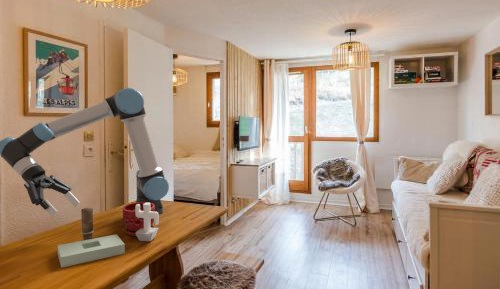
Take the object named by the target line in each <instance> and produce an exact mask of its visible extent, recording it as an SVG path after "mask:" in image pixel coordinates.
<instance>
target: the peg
mask: <svg viewBox="0 0 500 289" xmlns="http://www.w3.org/2000/svg"><path fill="white" fill-rule="evenodd" d="M80 213H81V214H80V215H81V232H80V234H81V236H82V241H83V240H89V239H93V234H94V210H93V208H92V207H86V208H85V207H84V208H82V209H81V212H80Z"/></svg>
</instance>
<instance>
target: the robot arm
mask: <svg viewBox="0 0 500 289" xmlns="http://www.w3.org/2000/svg"><path fill="white" fill-rule="evenodd" d="M144 105H145V99H144V96H143V94H142V93H141V92H140V91H139V90H137V89H135V88H132V87H125V88H122V89H120V90H118V91H117V92H116V93H114V94H113V95H111V96H108V97H107V98H104V99H103V101H102V102H100V103H96V104H93V105H91V106H89V107H86V108H83V109H82V110H79V111H78V110H77V111H76V112H73V113H70V114H67V115H65V116H62V117H60V118H57V119H54V120H52V121H49V122H47V123H44V122H39V123H37V124H35V125H33V126H32V127H31V128H30V129H27V131H25V132H24V133H23V134H21V135H20V136H18V137H17V138H14V137H13V136H9V137H5V138H3V139H1V140H0V157H1V158H2V159H4V161H5V162H6V163H7V164H8V165H9V166H10V167H11V168H12V169H13V170H14V171H15V172H16V173H17V174H18V175H19V176H20V177H21V179H22V180H23V181H24V182H25V183H23V187H24V188H25V189H26V191H27V194H28V197H29V200H30V201H31V204H33V205H35V206H40V207H41V208H42V209H44V211H46V212H47V213H48V214H49V215H50V216H51V217H54V216H55V215H57V213H58V212H59V210H58V209H56V207H54V206H53V204H52V203H51V202H50V201H49V200H48V198H46V199H45V198H44V197H45V194H44V190H46V189H49V190H50V189H51V190H54V191H55V192H58V193H61V194H63V195H64V197H65V198H66V199H67V201H69V203H70V204H71V205H72V206H73V207H74V208H76V207H77V206H79V204H80V203H81V201H80V200H79V199H78V198H77V197H76V196H75V195H74V194H73V193H72V192H71V191H72V189H73V188H72V187H71V186H70V185H68V184H66V183H65V182H63V181H61V180H60V179H59V178H57V177H56V176H55V175H54V174H50V176H47V175H46V170H45V169H44V168H43V167H42V166H41V164H39V162H38V161H37V160H36V159H35V158H34V157H33V156H32V155H31V153H33V152H34V151H35V150H37V149H38V148H40V147H41V146H43V145H44V144H45V143H47V142H50V141H53V140H54V139H57V138H59V137H63V136H64V135H66V134H70V133H72V132H74V131H78V130H79V129H82V128H85V127H87V126H89V125H92V124H94V123H95V124H96V123H97V122H100V121H103V120H106V119H108V118H115V117H119V121H121V122H123V123H124V124H125V128H126V131H127V134H128V137H129V140H130V143H131V144H130V145H131V147H132V152H133V154H134V157H135V160H136V163H137V166H138V169H139V170H137V171H136V174H135V178H136V200H135V202H134V203H138V202H149V203H153V204H154V205H155V212H158V214H159V215H161V214H163V213H164V206H163V203H162V199H163V198H165V196H166V195H167V194H168V192H169V190H170V185H169V182H168V180H167V179H166V177H165V174H164V172H163V168H162V167H160V166H159V165H158V163H157V162H158V161H157V159H156V154H155V151H154V149H153V145H152V141H151V138H150V135H149V132H148V128H147V126H146V125H147V124H146V120H145V117H146V115H147V112H146V109H145V106H144ZM140 210H142V208H140ZM133 211H135V209H134V210H133Z"/></svg>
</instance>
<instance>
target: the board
mask: <svg viewBox="0 0 500 289" xmlns="http://www.w3.org/2000/svg"><path fill="white" fill-rule="evenodd" d="M125 246H126V244H125V243H124V241H123V240H122V239H121V237H119V236H118V234H117V233H115V234H110V235H105V236H101V237H96V238H92V239H89V240H83V239H82V240H77V241H73V242H69V243H68V242H67V243H62V244H57V256H58V257H57V258H58V261H59V264H60V268H66V267H70V266H75V265H79V264H83V263H89V262H93V261H97V260H101V259H106V258H111V257H114V256H119V255H123V254H126V247H125Z"/></svg>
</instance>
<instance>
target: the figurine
mask: <svg viewBox="0 0 500 289" xmlns="http://www.w3.org/2000/svg"><path fill="white" fill-rule="evenodd" d="M150 207H151V205H150V203H149V202H146V203H144V204H143V208H144V211H140V205H139V204H137V205H136V206H135V214H136V217H137V218H144V228H141V229H139V230H138V231H137V232H136V233H135V234H136V236H135V237H137V239H138V240H139V241H140V242H151V241H152V240H154V239H155V237H156V234H157V232H158V231H159V229H160V227H154V228H152V227H151V224H150V218H153V219H154V222H153V224H154V226H158V225H159V223H160V220H159V218H160V214H158V212H153V211H150V209H151V208H150Z"/></svg>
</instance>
